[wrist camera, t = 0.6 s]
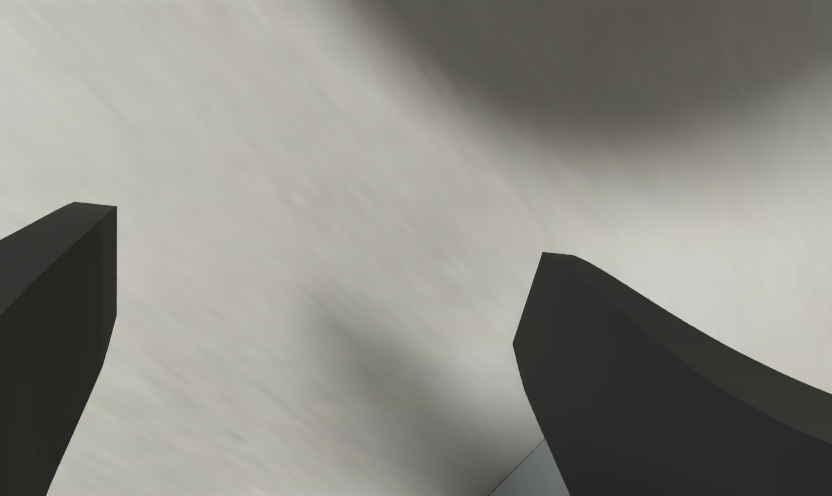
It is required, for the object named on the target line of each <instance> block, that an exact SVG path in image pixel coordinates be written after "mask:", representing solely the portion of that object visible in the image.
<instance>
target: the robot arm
mask: <svg viewBox="0 0 832 496" xmlns="http://www.w3.org/2000/svg"><path fill="white" fill-rule="evenodd" d="M116 316H117V206H108V205H99V204H90V203H80V202H73V203H71V204H68V205H66V206H64V207H62V208H60V209H58V210H56V211H54V212H52V213H50V214H48V215H46V216H45V217H43V218H41V219H39V220H37V221H35V222H34V223H32V224H30V225H28V226H26V227H24V228H22V229H20V230H18V231H17V232H15V233H13V234H11V235H9V236H7V237H5V238H3V239H1V240H0V496H46V495H47V492H48V489H49V487H50V484H51V482H52V480H53V478H54V475H55V473H56V471H57V469H58V466H59V464H60V462H61V460H62V457H63V455H64V453H65V451H66V448H67V446H68V444H69V442H70V439H71V437H72V435H73V433H74V430H75V428H76V426H77V424H78V421H79V419H80V417H81V415H82V412H83V410H84V408H85V406H86V403H87V401H88V399H89V397H90V394H91V392H92V390H93V387H94V385H95V383H96V381H97V378H98V376H99V374H100V371H101V369H102V366H103V363H104V359H105V356H106V352H107V349H108V345H109V342H110V338H111V334H112V331H113V327H114V323H115V319H116ZM513 347H514V352H515V356H516V360H517V364H518V369H519V372H520V376H521V379H522V383H523V386H524V390H525V392H526V395H527V397H528V400H529V402H530V405H531V407H532V409H533V412H534V414H535V416H536V419H537V421H538V424H539V426H540V428H541V431H542V433H543V435H544V437H545V440H546V442H547V444H548V446H549V449H550V451H551V453H552V456H553V458H554V460H555V462H556V465H557V467H558V469H559V472H560V474H561V476H562V479H563V481H564V483H565V485H566V488H567V490H568V492H569V495H570V496H832V394H830V393H827V392H825V391H822V390H820V389H817V388H815V387H812V386H810V385H808V384H805V383H803V382H800V381H798V380H796V379H794V378H791V377H789V376H787V375H785V374H782V373H780V372H778V371H776V370H774V369H772V368H770V367H768V366H766V365H764V364H762V363H760V362H758V361H756V360H754V359H752V358H750V357H747V356H745V355H743V354H741V353H739V352H737V351H736V350H734V349H732V348H730V347H728V346H726V345H724V344H722V343H721V342H719V341H717V340H715V339H714V338H712V337H710V336H708V335H707V334H705V333H703V332H701V331H700V330H698V329H696V328H695V327H693V326H691V325H689V324H688V323H686V322H684V321H683V320H681V319H679V318H678V317H676V316H674V315H673V314H671V313H670V312H668V311H666V310H665V309H663V308H662V307H660V306H658V305H657V304H655V303H654V302H652V301H650V300H649V299H647V298H646V297H644V296H643V295H641V294H640V293H638V292H636V291H635V290H633V289H632V288H630V287H629V286H627V285H625V284H624V283H622V282H621V281H619V280H617V279H616V278H614V277H613V276H611V275H609V274H608V273H606V272H605V271H603V270H601V269H599V268H598V267H596V266H594V265H593V264H591V263H589V262H587V261H585V260H583V259H581V258H579V257H576V256H574V255H566V254H557V253H547V252H543V253H542V256H541V259H540V262H539V265H538V268H537V271H536V274H535V277H534V280H533V283H532V286H531V289H530V292H529V295H528V298H527V301H526V304H525V307H524V310H523V313H522V316H521V320H520V323H519V326H518V329H517V332H516V335H515V338H514V341H513Z"/></svg>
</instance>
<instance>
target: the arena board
mask: <svg viewBox="0 0 832 496" xmlns="http://www.w3.org/2000/svg"><path fill="white" fill-rule="evenodd" d="M489 496H570V495H569V492H568V490H567V488H566V485H565V483H564V481H563V479H562V476H561V474H560V472H559V469H558V467H557V465H556V462H555V460H554V458H553V456H552V453H551V451H550V449H549V446H548V444H547V442H546V440H545V439H544V440H543V441H542V442H541V443H540V444H539V445H538V447H537V448H536V449H535V450H534V451H533V452H532V453H531V454H530V455H529V456H528V457H527V458H526V459H525V460H524V461H523V462H522V463H521V464H520V465H519V466H518V467H517V468H516V469H515V470H514V471H513V472H512V473H511V474H510V475H509V476H508V477H507V478H506V479H505V480H504V481H503V482H502V483H501V484H500V485H499V486H498V487H497V488H496V489H495V490H494V491H493V492H492V493H491V494H490V495H489Z"/></svg>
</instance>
